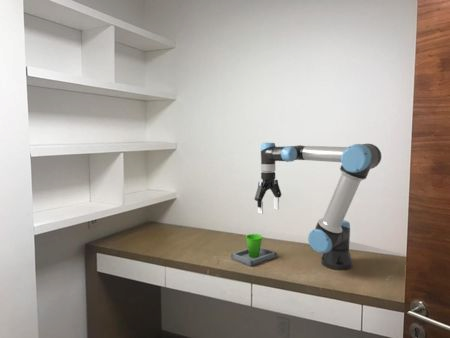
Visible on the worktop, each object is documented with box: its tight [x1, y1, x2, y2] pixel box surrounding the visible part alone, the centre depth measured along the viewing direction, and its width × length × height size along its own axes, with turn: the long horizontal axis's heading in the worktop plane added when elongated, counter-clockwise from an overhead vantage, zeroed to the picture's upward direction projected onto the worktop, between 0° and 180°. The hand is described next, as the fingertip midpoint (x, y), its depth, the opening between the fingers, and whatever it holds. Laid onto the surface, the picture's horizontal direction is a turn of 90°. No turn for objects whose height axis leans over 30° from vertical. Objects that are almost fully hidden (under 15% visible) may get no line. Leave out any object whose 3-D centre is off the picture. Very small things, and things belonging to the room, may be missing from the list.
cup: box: [245, 233, 263, 258], centre depth 190 cm, size 9×9×11 cm
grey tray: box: [230, 246, 277, 268], centre depth 190 cm, size 14×19×3 cm
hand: (268, 211), depth 192 cm, fingers open, 13 cm apart
